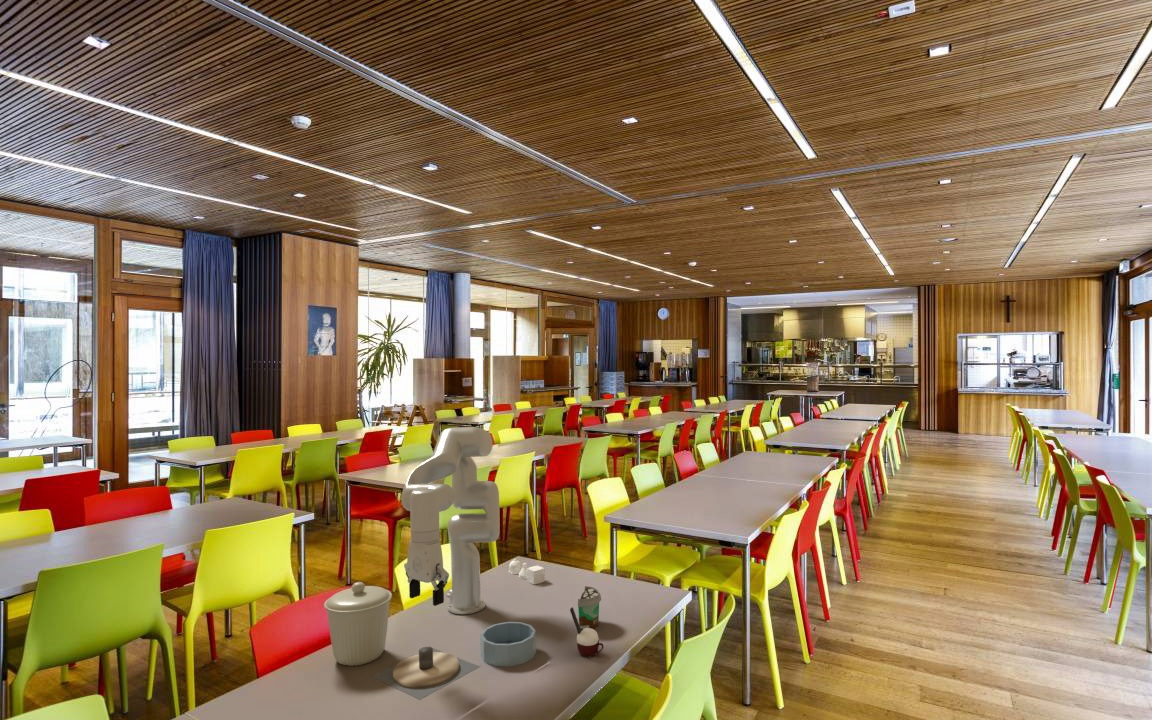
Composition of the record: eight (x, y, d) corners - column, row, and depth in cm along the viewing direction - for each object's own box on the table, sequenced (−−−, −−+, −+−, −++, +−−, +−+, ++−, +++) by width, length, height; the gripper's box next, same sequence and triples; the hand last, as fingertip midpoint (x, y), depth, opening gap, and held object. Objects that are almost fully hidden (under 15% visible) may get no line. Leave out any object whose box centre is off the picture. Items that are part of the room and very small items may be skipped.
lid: (379, 675, 160) (379, 653, 160) (431, 651, 173) (430, 630, 173) (420, 694, 149) (420, 671, 149) (472, 666, 163) (471, 645, 163)
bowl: (470, 657, 169) (469, 636, 169) (507, 638, 181) (507, 618, 181) (509, 672, 160) (508, 649, 160) (546, 651, 172) (545, 629, 172)
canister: (367, 677, 160) (365, 596, 160) (310, 669, 165) (309, 591, 166) (405, 646, 177) (404, 574, 178) (353, 640, 182) (351, 570, 183)
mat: (371, 677, 159) (371, 676, 159) (431, 648, 175) (431, 647, 175) (419, 701, 147) (419, 699, 147) (480, 667, 163) (480, 666, 163)
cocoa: (606, 655, 169) (607, 612, 169) (591, 663, 164) (592, 618, 164) (581, 644, 175) (582, 602, 176) (566, 651, 171) (567, 608, 171)
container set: (545, 582, 229) (544, 568, 229) (533, 585, 226) (533, 571, 226) (517, 569, 245) (517, 556, 245) (506, 572, 242) (505, 558, 242)
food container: (598, 634, 182) (597, 600, 182) (578, 633, 183) (577, 599, 183) (604, 617, 194) (604, 586, 194) (586, 616, 195) (585, 585, 195)
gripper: (393, 534, 165) (394, 598, 164) (435, 543, 154) (436, 611, 154) (416, 528, 171) (417, 590, 170) (457, 537, 160) (459, 602, 160)
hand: (426, 600), depth 162 cm, fingers open, 9 cm apart
